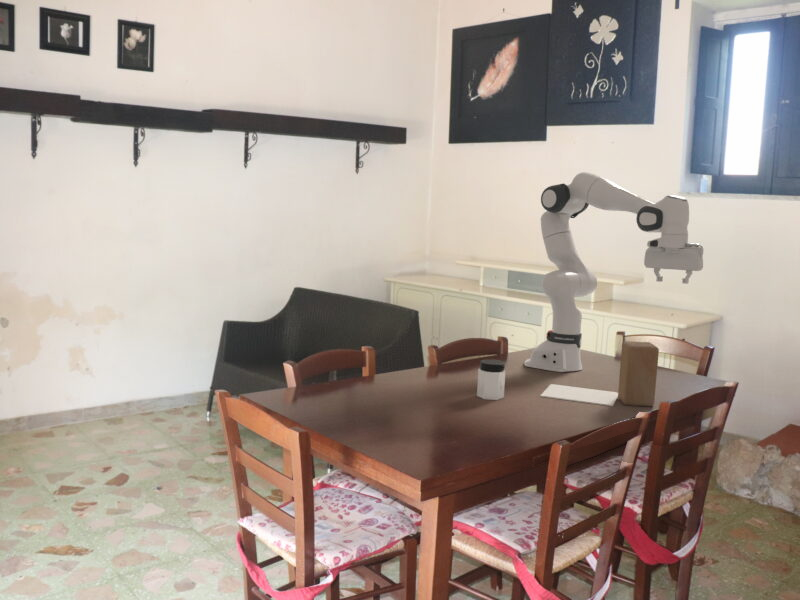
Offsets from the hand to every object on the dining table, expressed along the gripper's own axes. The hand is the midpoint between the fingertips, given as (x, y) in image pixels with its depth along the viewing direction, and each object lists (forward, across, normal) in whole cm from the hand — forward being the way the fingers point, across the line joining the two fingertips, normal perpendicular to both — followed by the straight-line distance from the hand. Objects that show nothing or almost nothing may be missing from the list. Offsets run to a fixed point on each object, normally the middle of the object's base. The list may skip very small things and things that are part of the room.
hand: (672, 282), depth 279 cm
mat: (+38, +17, +29) cm, 51 cm away
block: (+39, 0, +22) cm, 45 cm away
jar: (+38, +35, +56) cm, 76 cm away
